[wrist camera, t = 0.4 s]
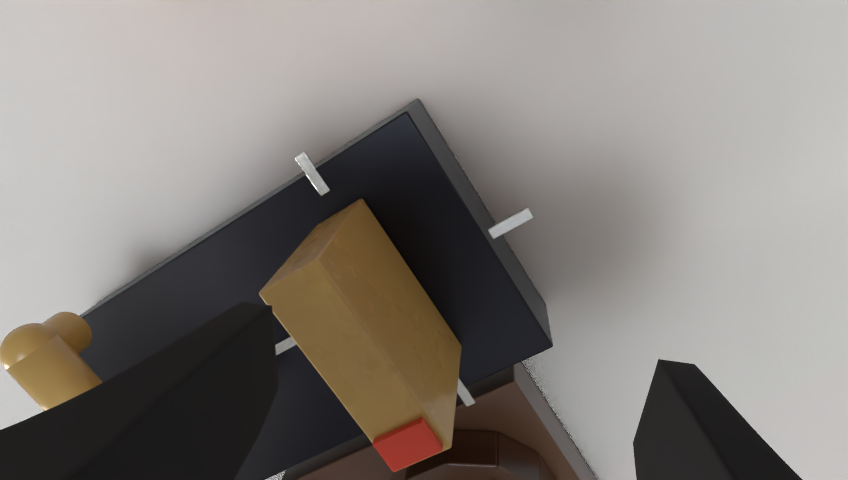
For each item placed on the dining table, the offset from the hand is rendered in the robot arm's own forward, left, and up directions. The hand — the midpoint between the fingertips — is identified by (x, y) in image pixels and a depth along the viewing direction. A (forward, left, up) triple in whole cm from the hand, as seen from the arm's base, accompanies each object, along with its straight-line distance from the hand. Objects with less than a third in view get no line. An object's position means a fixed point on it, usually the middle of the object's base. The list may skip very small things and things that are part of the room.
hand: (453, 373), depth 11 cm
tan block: (-3, 0, -8) cm, 8 cm away
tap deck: (-8, 0, -11) cm, 13 cm away
